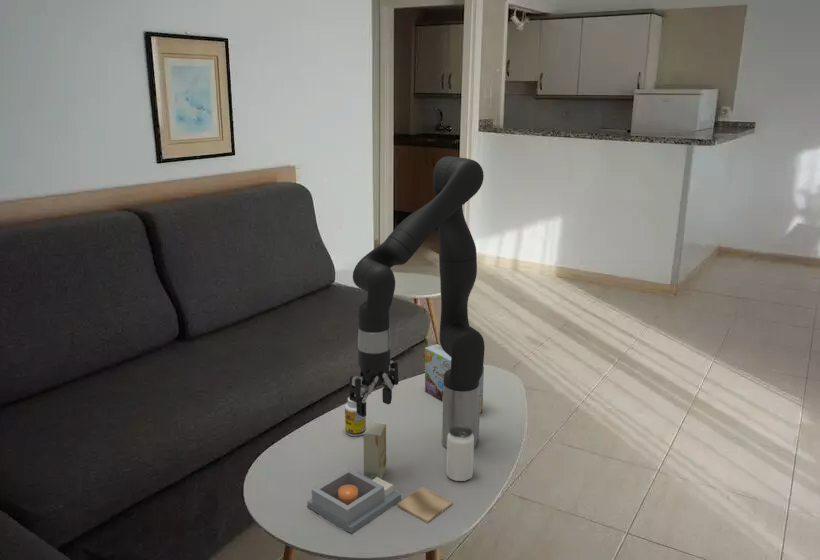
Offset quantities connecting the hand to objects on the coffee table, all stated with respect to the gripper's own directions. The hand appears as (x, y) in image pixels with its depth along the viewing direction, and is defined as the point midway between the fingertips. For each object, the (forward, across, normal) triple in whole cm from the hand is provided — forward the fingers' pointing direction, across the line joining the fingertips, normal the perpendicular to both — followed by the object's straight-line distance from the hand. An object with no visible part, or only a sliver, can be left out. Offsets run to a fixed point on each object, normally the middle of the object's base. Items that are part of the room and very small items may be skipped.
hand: (374, 409), depth 159 cm
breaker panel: (+17, -12, -5) cm, 22 cm away
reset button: (+16, -14, -5) cm, 22 cm away
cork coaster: (+17, -2, -18) cm, 25 cm away
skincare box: (+18, 0, 0) cm, 18 cm away
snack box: (+18, +43, +9) cm, 47 cm away
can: (+18, +13, -16) cm, 27 cm away
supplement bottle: (+18, +11, +18) cm, 27 cm away
